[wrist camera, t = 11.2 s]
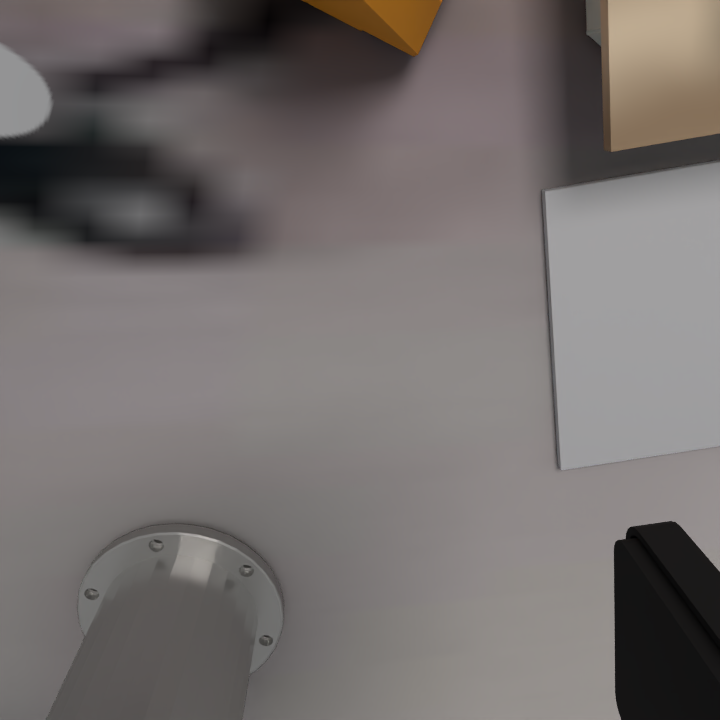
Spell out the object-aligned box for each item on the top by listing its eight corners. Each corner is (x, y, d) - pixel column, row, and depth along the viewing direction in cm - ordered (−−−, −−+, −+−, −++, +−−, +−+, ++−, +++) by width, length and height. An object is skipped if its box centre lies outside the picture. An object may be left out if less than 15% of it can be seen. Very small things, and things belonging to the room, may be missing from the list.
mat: (834, 422, 38) (841, 427, 38) (557, 464, 39) (560, 470, 38) (868, 134, 33) (876, 135, 32) (541, 189, 33) (545, 191, 33)
